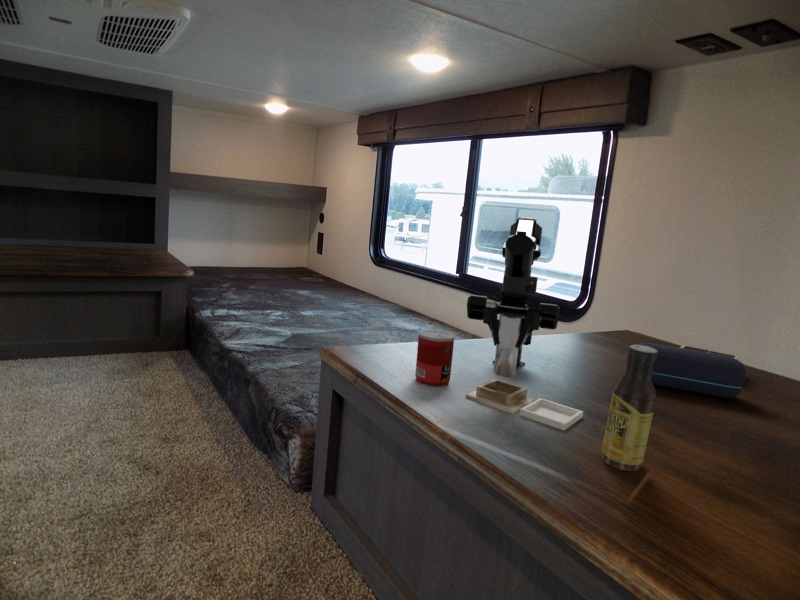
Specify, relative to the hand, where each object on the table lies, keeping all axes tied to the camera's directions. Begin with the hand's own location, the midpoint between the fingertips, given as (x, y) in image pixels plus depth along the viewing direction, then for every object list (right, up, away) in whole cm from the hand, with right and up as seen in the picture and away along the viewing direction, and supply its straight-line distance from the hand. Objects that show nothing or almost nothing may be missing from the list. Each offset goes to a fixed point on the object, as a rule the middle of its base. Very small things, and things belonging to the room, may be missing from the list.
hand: (507, 346), depth 102 cm
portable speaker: (+47, -13, +22) cm, 53 cm away
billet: (0, -6, +2) cm, 6 cm away
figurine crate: (+63, -10, +39) cm, 75 cm away
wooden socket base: (-1, -12, +3) cm, 12 cm away
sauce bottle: (+14, -18, -20) cm, 30 cm away
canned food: (-14, -9, +13) cm, 22 cm away
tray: (+8, -14, -3) cm, 16 cm away
